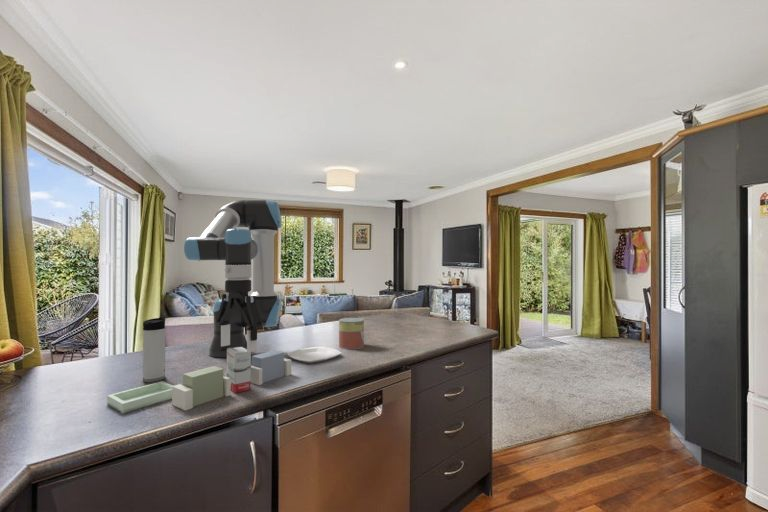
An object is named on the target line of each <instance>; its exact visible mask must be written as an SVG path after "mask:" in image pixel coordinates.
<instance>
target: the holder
mask: <svg viewBox="0 0 768 512" xmlns="http://www.w3.org/2000/svg"><path fill="white" fill-rule="evenodd" d="M284 376H286V377H288V376H292V359H288V358H285V357H284ZM250 384H253V385H256V386H261V385H263V383H262V368H259V367H255V366H252V365H251V383H250ZM231 392H232V390H231V382H230V378H229V377H227V375H223V397H224V396H225V397H230V396H231ZM171 404H172V406H174V407H176V408H179V409H181V410H183V411H184V412H186V411H188V410H191V409H193V408H194V406H193V389H191V388H188V387H186V386H183V384H181V383H178V384H175V385H173V386H172V399H171Z"/></svg>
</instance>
